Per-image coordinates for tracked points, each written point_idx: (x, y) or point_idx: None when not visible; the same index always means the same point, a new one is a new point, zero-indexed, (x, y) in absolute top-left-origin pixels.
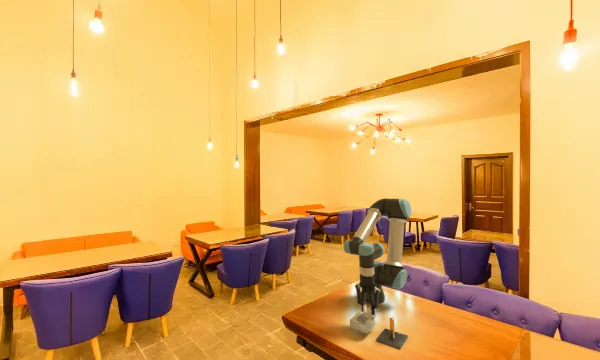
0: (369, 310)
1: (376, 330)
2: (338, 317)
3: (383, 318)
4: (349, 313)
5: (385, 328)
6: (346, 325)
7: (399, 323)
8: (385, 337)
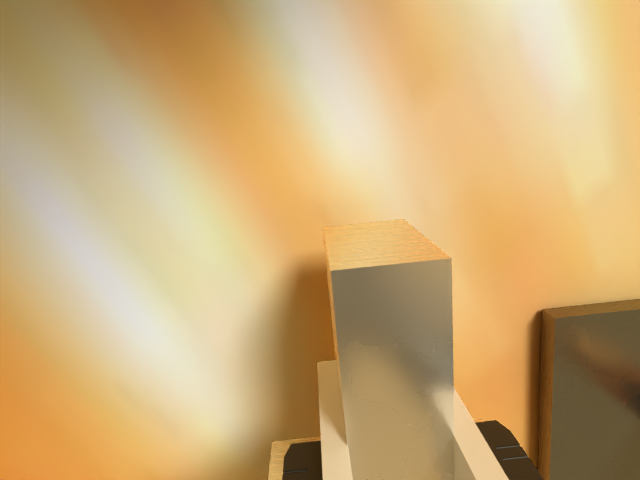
0: (414, 456)
1: (465, 360)
2: (15, 408)
3: (417, 67)
4: (29, 250)
5: (558, 320)
6: (189, 473)
7: (625, 49)
8: (612, 458)
